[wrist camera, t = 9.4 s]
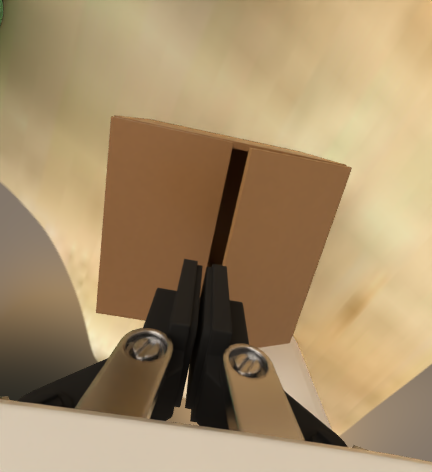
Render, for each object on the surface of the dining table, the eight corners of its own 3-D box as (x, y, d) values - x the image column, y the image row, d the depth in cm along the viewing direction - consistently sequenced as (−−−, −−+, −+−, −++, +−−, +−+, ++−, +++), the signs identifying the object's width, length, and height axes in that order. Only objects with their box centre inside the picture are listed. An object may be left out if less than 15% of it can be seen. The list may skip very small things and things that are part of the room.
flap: (347, 166, 16) (352, 167, 16) (287, 340, 20) (289, 343, 20) (249, 147, 13) (252, 148, 13) (201, 352, 17) (203, 356, 17)
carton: (299, 151, 25) (352, 166, 16) (264, 273, 29) (289, 343, 20) (148, 119, 24) (109, 114, 15) (133, 250, 28) (94, 313, 19)
